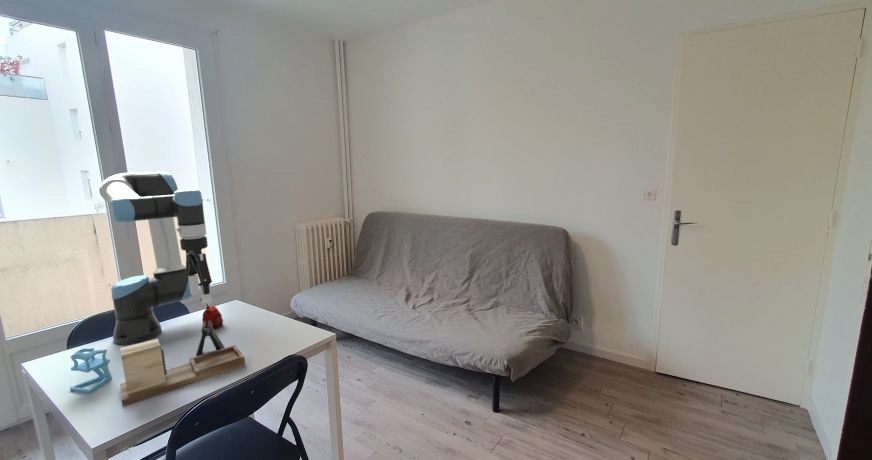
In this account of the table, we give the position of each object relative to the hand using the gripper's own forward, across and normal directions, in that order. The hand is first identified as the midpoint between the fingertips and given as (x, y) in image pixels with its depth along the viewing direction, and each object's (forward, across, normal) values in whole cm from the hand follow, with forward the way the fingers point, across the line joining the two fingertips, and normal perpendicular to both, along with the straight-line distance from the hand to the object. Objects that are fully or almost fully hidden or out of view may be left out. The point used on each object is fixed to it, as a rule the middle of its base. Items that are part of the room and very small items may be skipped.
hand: (201, 298), depth 130 cm
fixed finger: (+20, +8, -18) cm, 28 cm away
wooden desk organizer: (+22, +9, -9) cm, 25 cm away
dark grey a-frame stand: (+22, -2, +1) cm, 22 cm away
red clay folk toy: (+22, -27, +9) cm, 36 cm away
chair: (+22, -8, -30) cm, 38 cm away
